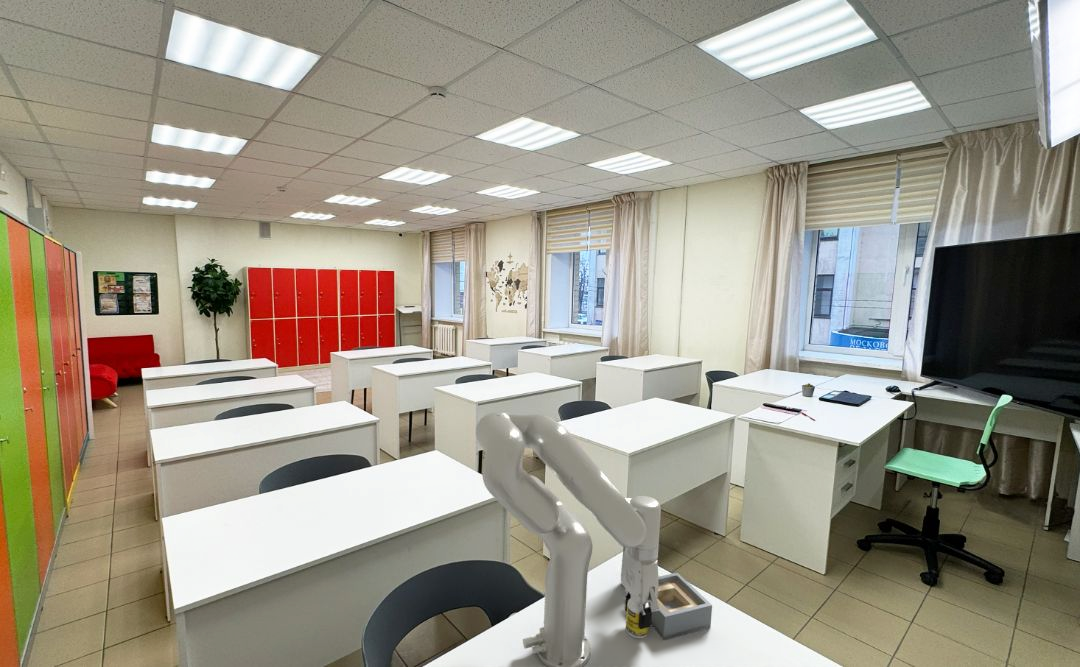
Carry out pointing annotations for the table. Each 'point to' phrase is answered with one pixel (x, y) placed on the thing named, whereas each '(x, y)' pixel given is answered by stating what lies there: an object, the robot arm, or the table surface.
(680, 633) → the box
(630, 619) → the supplement bottle
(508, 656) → the table surface
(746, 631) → the table surface
